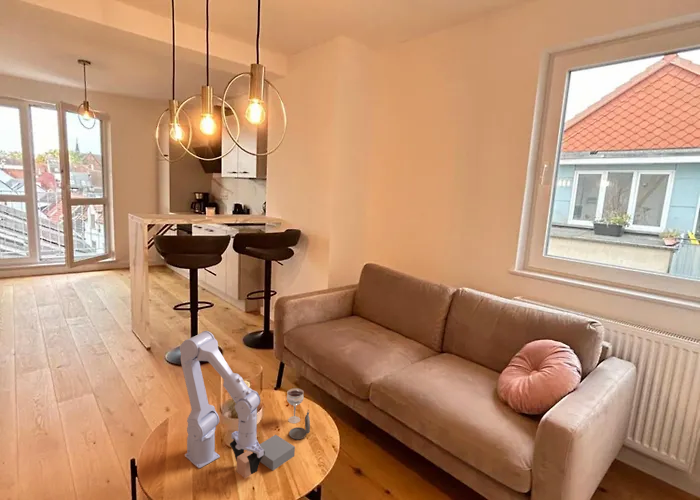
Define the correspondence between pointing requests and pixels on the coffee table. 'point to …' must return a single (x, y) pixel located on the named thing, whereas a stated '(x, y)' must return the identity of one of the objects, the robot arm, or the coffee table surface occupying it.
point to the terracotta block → (243, 464)
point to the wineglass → (294, 402)
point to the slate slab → (276, 452)
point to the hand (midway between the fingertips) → (246, 466)
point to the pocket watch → (301, 429)
